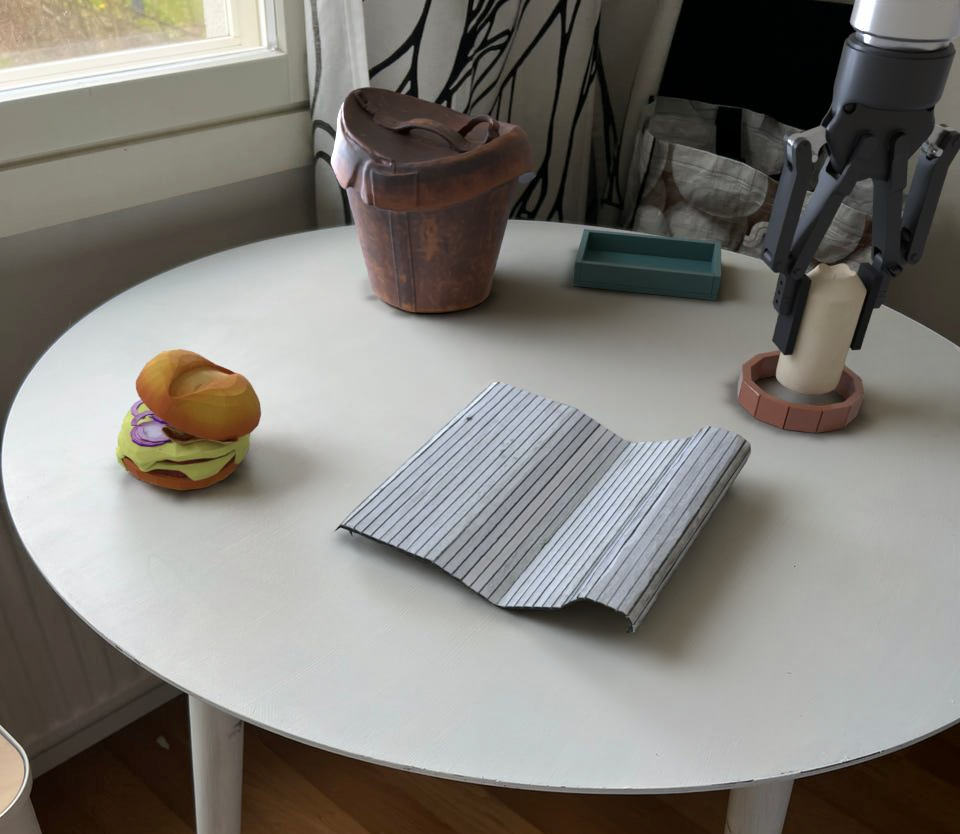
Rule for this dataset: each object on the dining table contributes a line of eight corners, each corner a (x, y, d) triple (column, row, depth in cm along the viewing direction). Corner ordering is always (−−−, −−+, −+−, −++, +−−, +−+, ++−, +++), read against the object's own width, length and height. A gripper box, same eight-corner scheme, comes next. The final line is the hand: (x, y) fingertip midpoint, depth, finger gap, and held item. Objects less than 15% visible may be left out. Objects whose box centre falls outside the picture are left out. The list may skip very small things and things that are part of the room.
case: (548, 319, 97) (563, 127, 84) (352, 335, 93) (338, 137, 81) (504, 249, 109) (512, 72, 97) (330, 261, 106) (315, 79, 93)
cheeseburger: (122, 431, 80) (125, 319, 73) (252, 449, 83) (266, 343, 77) (109, 500, 72) (111, 383, 66) (252, 517, 76) (267, 406, 69)
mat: (487, 405, 84) (489, 356, 81) (741, 488, 77) (755, 437, 73) (332, 544, 70) (327, 492, 67) (627, 664, 62) (637, 611, 59)
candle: (764, 380, 85) (791, 270, 78) (792, 358, 88) (821, 249, 81) (821, 401, 82) (854, 289, 75) (848, 378, 85) (883, 267, 78)
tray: (716, 265, 108) (721, 241, 106) (716, 300, 101) (721, 276, 99) (581, 251, 109) (583, 228, 107) (572, 285, 103) (574, 262, 101)
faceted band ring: (850, 378, 90) (857, 357, 88) (861, 438, 82) (869, 416, 81) (736, 366, 91) (741, 344, 89) (737, 424, 83) (743, 401, 82)
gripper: (994, 20, 70) (894, 319, 86) (756, 26, 68) (699, 332, 84) (1054, 46, 65) (936, 358, 81) (799, 53, 63) (729, 374, 79)
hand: (816, 344), depth 83 cm, fingers closed on candle, 5 cm apart
